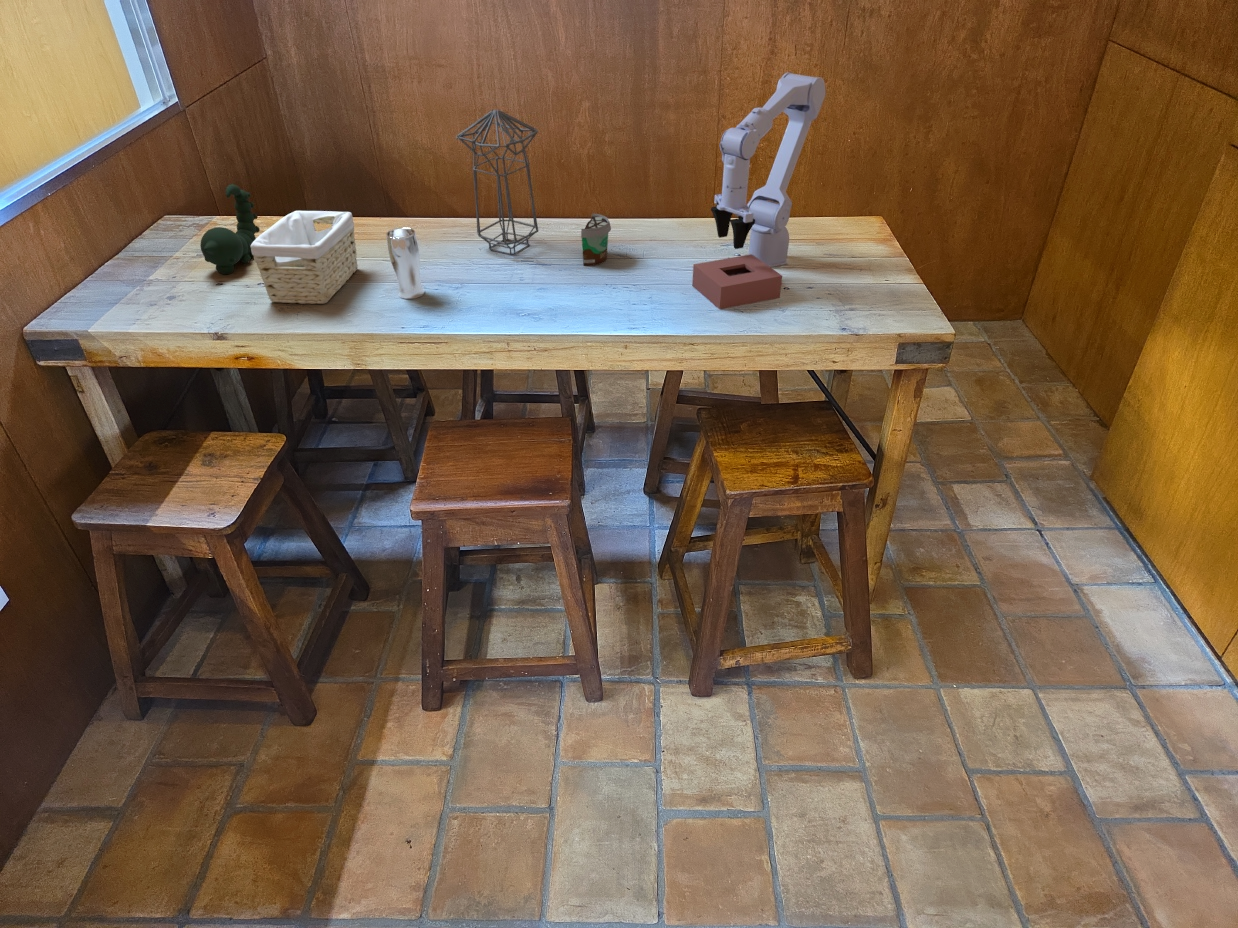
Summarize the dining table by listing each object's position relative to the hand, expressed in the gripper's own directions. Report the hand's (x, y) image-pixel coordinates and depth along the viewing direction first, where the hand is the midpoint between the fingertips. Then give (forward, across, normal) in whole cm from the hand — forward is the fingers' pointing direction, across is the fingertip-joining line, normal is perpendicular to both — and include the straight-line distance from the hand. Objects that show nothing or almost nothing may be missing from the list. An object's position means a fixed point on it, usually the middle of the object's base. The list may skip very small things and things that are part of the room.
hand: (730, 242), depth 187 cm
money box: (+10, +6, -2) cm, 12 cm away
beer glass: (+10, -24, -73) cm, 77 cm away
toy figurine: (+10, -60, -110) cm, 126 cm away
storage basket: (+10, -38, -93) cm, 101 cm away
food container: (+10, -25, -24) cm, 36 cm away
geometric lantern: (+10, -41, -44) cm, 61 cm away
